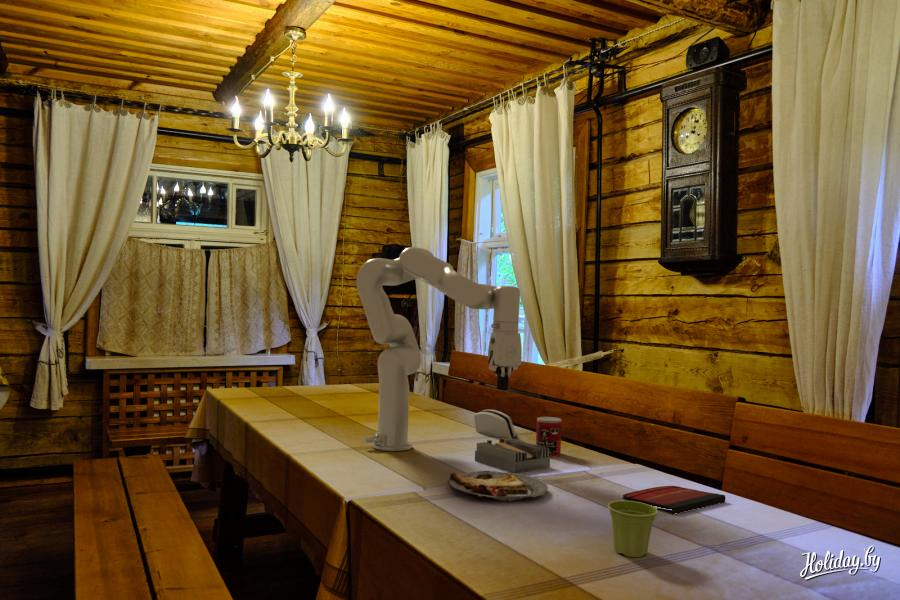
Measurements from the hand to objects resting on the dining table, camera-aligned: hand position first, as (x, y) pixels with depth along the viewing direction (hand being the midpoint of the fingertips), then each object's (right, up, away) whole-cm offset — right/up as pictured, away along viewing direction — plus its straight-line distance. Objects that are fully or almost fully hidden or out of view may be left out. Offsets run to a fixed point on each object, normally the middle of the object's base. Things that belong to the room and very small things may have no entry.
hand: (502, 389), depth 209 cm
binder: (+39, -24, -34) cm, 57 cm away
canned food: (+15, -22, +13) cm, 30 cm away
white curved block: (0, -22, +40) cm, 46 cm away
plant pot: (+19, -23, -72) cm, 78 cm away
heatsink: (+3, -21, -3) cm, 22 cm away
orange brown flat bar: (+3, -17, -3) cm, 18 cm away
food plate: (-4, -22, -32) cm, 39 cm away
